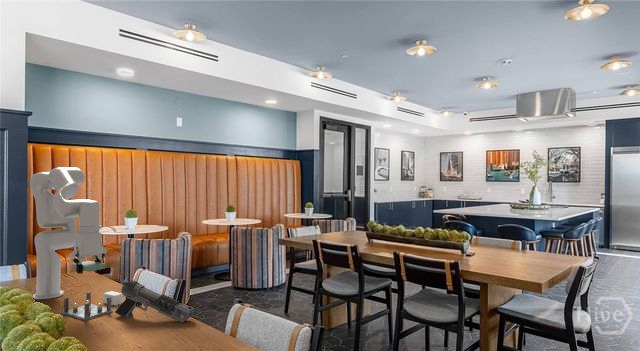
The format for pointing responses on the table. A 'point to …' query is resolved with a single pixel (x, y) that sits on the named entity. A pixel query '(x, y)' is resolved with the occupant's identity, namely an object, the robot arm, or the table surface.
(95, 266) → the board
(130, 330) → the table surface
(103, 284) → the table surface
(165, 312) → the firearm
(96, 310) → the chassis
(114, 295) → the riser
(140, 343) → the table surface
